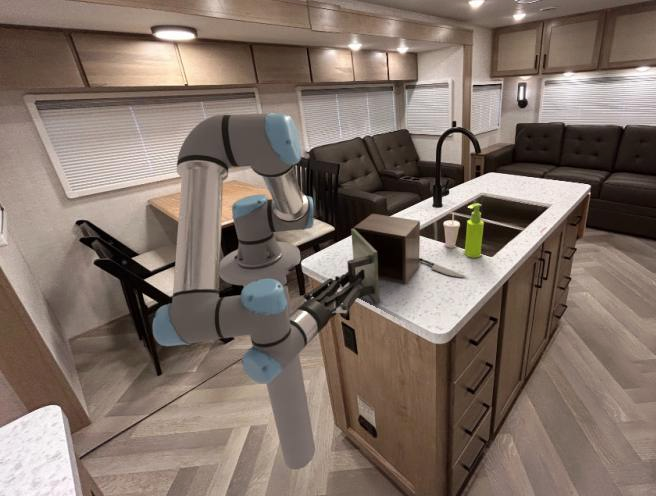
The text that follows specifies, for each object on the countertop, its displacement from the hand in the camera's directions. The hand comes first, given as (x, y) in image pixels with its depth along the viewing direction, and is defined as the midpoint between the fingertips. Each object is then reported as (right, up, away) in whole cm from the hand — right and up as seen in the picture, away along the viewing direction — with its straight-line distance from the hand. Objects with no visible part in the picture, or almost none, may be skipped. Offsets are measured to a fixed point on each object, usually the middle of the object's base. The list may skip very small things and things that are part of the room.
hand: (358, 272), depth 94 cm
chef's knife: (+26, -1, +16) cm, 31 cm away
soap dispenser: (+39, +2, +27) cm, 48 cm away
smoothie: (+32, +5, +34) cm, 47 cm away
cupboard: (+8, -2, +18) cm, 20 cm away
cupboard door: (-2, -6, +6) cm, 9 cm away
